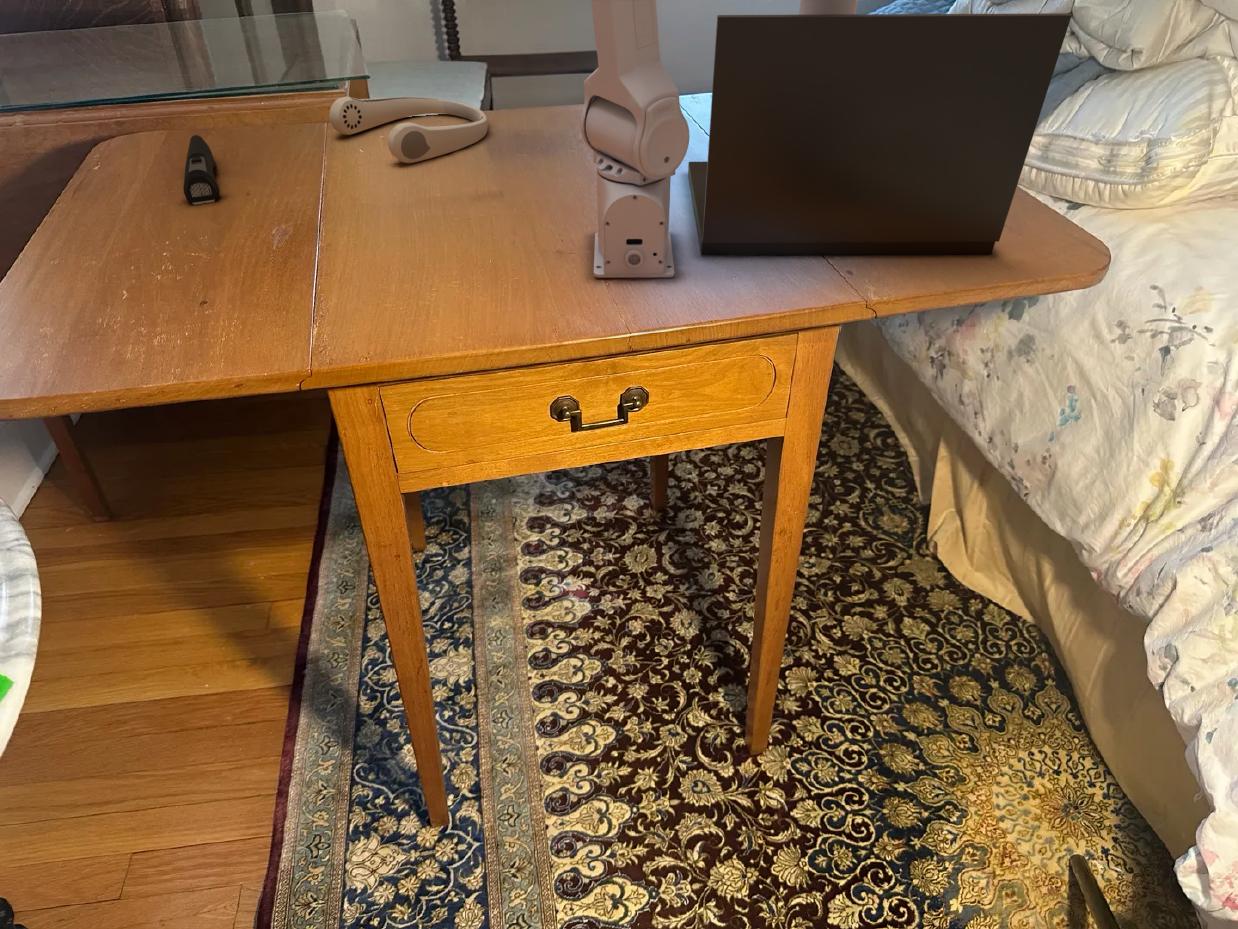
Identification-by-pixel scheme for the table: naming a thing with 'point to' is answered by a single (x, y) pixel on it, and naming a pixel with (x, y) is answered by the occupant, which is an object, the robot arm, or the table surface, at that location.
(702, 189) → the laptop
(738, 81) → the laptop screen
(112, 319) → the table surface
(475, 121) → the beige neck fan
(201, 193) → the electric trimmer
